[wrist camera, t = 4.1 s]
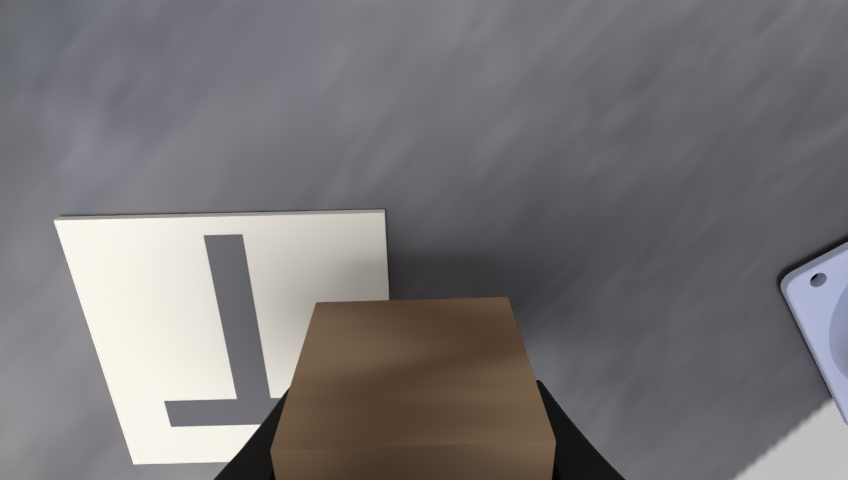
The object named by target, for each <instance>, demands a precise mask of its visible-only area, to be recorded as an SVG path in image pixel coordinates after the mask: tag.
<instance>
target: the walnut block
mask: <svg viewBox="0 0 848 480" xmlns="http://www.w3.org/2000/svg"><path fill="white" fill-rule="evenodd" d="M555 445H556V440H555V437H554V434H553V431H552V428H551V425H550V422H549V419H548V416H547V413H546V410H545V407H544V404H543V401H542V398H541V395H540V392H539V389H538V386H537V383H536V380H535V377H534V374H533V371H532V368H531V365H530V362H529V359H528V356H527V353H526V350H525V347H524V344H523V341H522V338H521V335H520V332H519V329H518V326H517V323H516V320H515V317H514V314H513V311H512V308H511V305H510V302H509V299H508V297H479V298H445V299H411V300H377V301H343V302H316V304H315V307H314V311H313V314H312V317H311V320H310V324H309V327H308V330H307V333H306V337H305V340H304V343H303V346H302V349H301V353H300V356H299V359H298V362H297V366H296V369H295V372H294V375H293V379H292V382H291V385H290V388H289V392H288V395H287V398H286V401H285V405H284V408H283V411H282V414H281V417H280V421H279V424H278V427H277V430H276V434H275V437H274V440H273V443H272V447H271V450H270V452H271V457H272V463H273V468H274V474H275V479H276V480H552V473H553V463H554V454H555Z"/></svg>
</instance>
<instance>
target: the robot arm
mask: <svg viewBox="0 0 848 480" xmlns="http://www.w3.org/2000/svg"><path fill="white" fill-rule="evenodd" d="M817 273H818V275H817V277H816V278H815V279H813V280H811V278H812V277H813V276H814V275H815V274H817ZM810 280H811V281H810ZM781 291H782V293H783V295H784V297H785V299H786V301H787V303H788V305H789V307H790V309H791V312H792V314H793V316H794V318H795V320H796V322H797V324H798V326H799V328H800V330H801V332H802V334H803V337H804V339H805V341H806V343H807V345H808V347H809V349H810V351H811V353H812V355H813V357H814V359H815V362H816V364H817V366H818V368H819V370H820V372H821V374H822V376H823V378H824V380H825V382H826V384H827V387H828V389H829V391H830V393H831V395H832V397H833V399H834V401H835V403H836V405H837V407H838V409H839V412H840V414H841V416H842V418H843V420H844V422H845V423H846V424H847V425H848V242H846V243H844V244H842V245H841V246H839V247H837V248H835V249H833V250H831V251H829V252H827V253H826V254H824V255H822V256H820V257H818V258H816V259H814V260H812V261H810V262H809V263H807V264H805V265H803V266H801V267H799V268H797V269H795V270H794V271H792V272H790V273H789V274H787V275H786V276H785V277H784V279H783V280H782V282H781ZM536 383H537V386H538V389H539V392H540V395H541V398H542V401H543V404H544V407H545V410H546V413H547V416H548V419H549V422H550V425H551V428H552V431H553V434H554V437H555V440H556V445H555V454H554V463H553V473H552V480H625V479H624V478H623V477H622V476H621V475H620V474H619V473H618V472H617V471H616V470H615V469H614V468H613V467H612V466H611V465H610V464H609V463H608V462H607V461H606V460H605V459H604V458H603V457H602V456H601V455H600V453H599V452H598V451H597V450H596V449H595V448H594V447H593V446H592V445H591V443H590V442H589V441H588V440H587V439H586V438H585V436H584V435H583V434H582V433H581V432H580V431H579V430H578V428H577V427H576V426H575V425H574V424H573V422H572V421H571V420H570V419H569V417H568V416H567V415H566V414H565V412H564V411H563V410H562V409H561V407H560V406H559V405H558V403H557V402H556V401H555V399H554V398H553V397H552V395H551V394H550V393H549V391H548V390H547V388H546V387H545V386H544V384H543V383H542V382H541V381H540V380H536ZM288 392H289V388H288V389H287V390H286V392H285V393H284V394H283V396H282V397H281V399H280V400H279V401H278V403H277V404H276V405H275V407H274V408H273V409H272V411H271V412H270V413H269V415H268V416H267V417H266V419H265V420H264V421H263V423H262V424H261V425H260V427H259V428H258V429H257V430H256V431H255V433H254V434H253V435H252V436H251V438H250V439H249V440H248V441H247V442H246V444H245V445H244V446H243V447H242V449H241V450H240V451H239V452H238V453H237V454H236V455H235V457H234V458H233V459H232V460H231V461H230V462H229V463H228V464H227V465H226V467H225V468H224V469H223V470H222V471H221V472H220V473H219V474H218V475H217V477H216V478H215V479H214V480H276V479H275V474H274V468H273V463H272V457H271V452H270V450H271V447H272V443H273V440H274V437H275V434H276V430H277V427H278V424H279V421H280V417H281V414H282V411H283V408H284V405H285V401H286V398H287V395H288Z"/></svg>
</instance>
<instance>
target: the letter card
mask: <svg viewBox="0 0 848 480" xmlns="http://www.w3.org/2000/svg"><path fill="white" fill-rule="evenodd" d="M54 222H55V225H56V228H57V232H58V235H59V238H60V241H61V244H62V247H63V250H64V253H65V256H66V259H67V262H68V265H69V268H70V271H71V274H72V277H73V280H74V284H75V287H76V290H77V293H78V296H79V299H80V302H81V305H82V308H83V311H84V314H85V317H86V320H87V323H88V326H89V329H90V332H91V335H92V339H93V342H94V345H95V348H96V351H97V354H98V357H99V360H100V363H101V366H102V369H103V372H104V375H105V378H106V381H107V384H108V387H109V390H110V394H111V397H112V400H113V403H114V406H115V409H116V412H117V415H118V418H119V421H120V424H121V427H122V430H123V433H124V436H125V439H126V442H127V446H128V449H129V452H130V455H131V458H132V461H133V464H164V463H201V462H230V461H231V460H232V459H233V458H234V457H235V455H236V454H237V453H238V452H239V451H240V450H241V449H242V447H243V446H244V445H245V444H246V442H247V441H248V440H249V439H250V438H251V436H252V435H253V434H254V433H255V431H256V430H257V429H258V428H259V427H260V425H261V424H262V423H263V421H264V420H265V419H266V417H267V416H268V415H269V413H270V412H271V411H272V409H273V408H274V407H275V405H276V404H277V403H278V401H279V400H280V399H281V397H282V396H283V394H284V393H285V392H286V390H287V389H288V388H290V385H291V382H292V379H293V375H294V372H295V369H296V366H297V362H298V359H299V356H300V353H301V349H302V346H303V343H304V340H305V337H306V333H307V330H308V327H309V324H310V320H311V317H312V314H313V311H314V307H315V304H316V302H343V301H377V300H389V282H388V262H387V242H386V223H385V209H377V210H333V211H290V212H246V213H202V214H158V215H114V216H70V217H59V218H57V219H55V220H54Z"/></svg>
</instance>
